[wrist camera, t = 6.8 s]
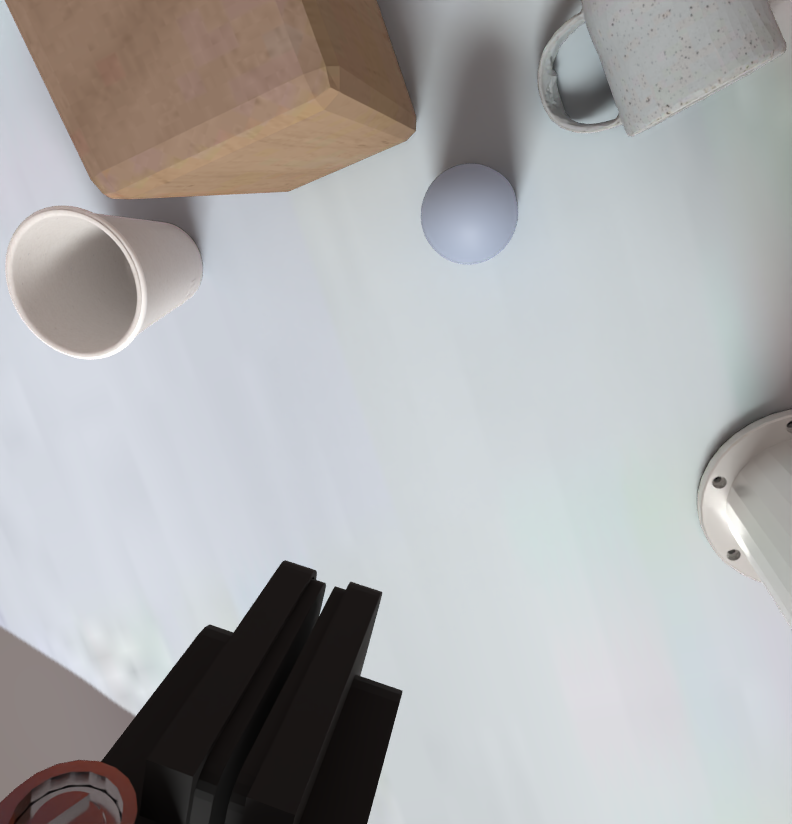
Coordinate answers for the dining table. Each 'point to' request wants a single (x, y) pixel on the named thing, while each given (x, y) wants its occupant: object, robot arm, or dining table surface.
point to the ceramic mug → (664, 55)
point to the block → (217, 90)
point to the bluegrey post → (469, 213)
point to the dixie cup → (97, 277)
